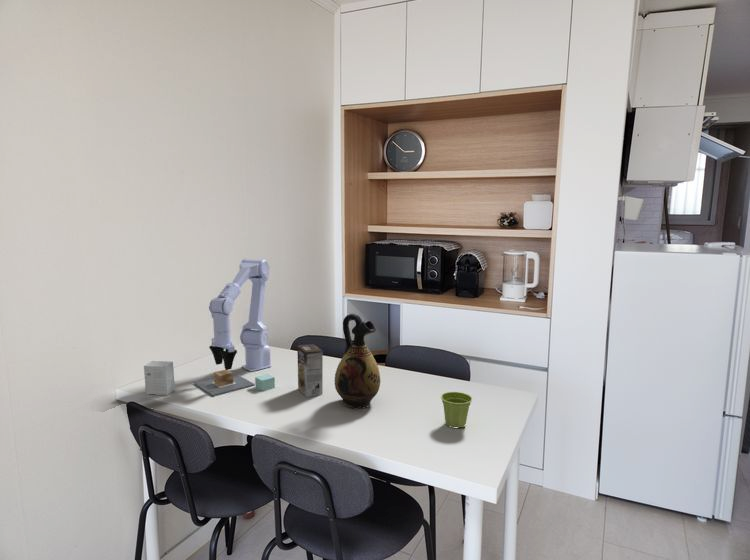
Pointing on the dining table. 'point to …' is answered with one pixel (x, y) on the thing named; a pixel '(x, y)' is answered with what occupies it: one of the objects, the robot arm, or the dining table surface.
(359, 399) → the ceramic jug
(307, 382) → the coffee box
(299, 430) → the dining table surface
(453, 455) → the dining table surface
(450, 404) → the plant pot
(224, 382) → the brick walnut
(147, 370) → the small box
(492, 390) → the dining table surface
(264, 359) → the robot arm
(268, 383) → the brick teal
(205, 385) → the baseplate
